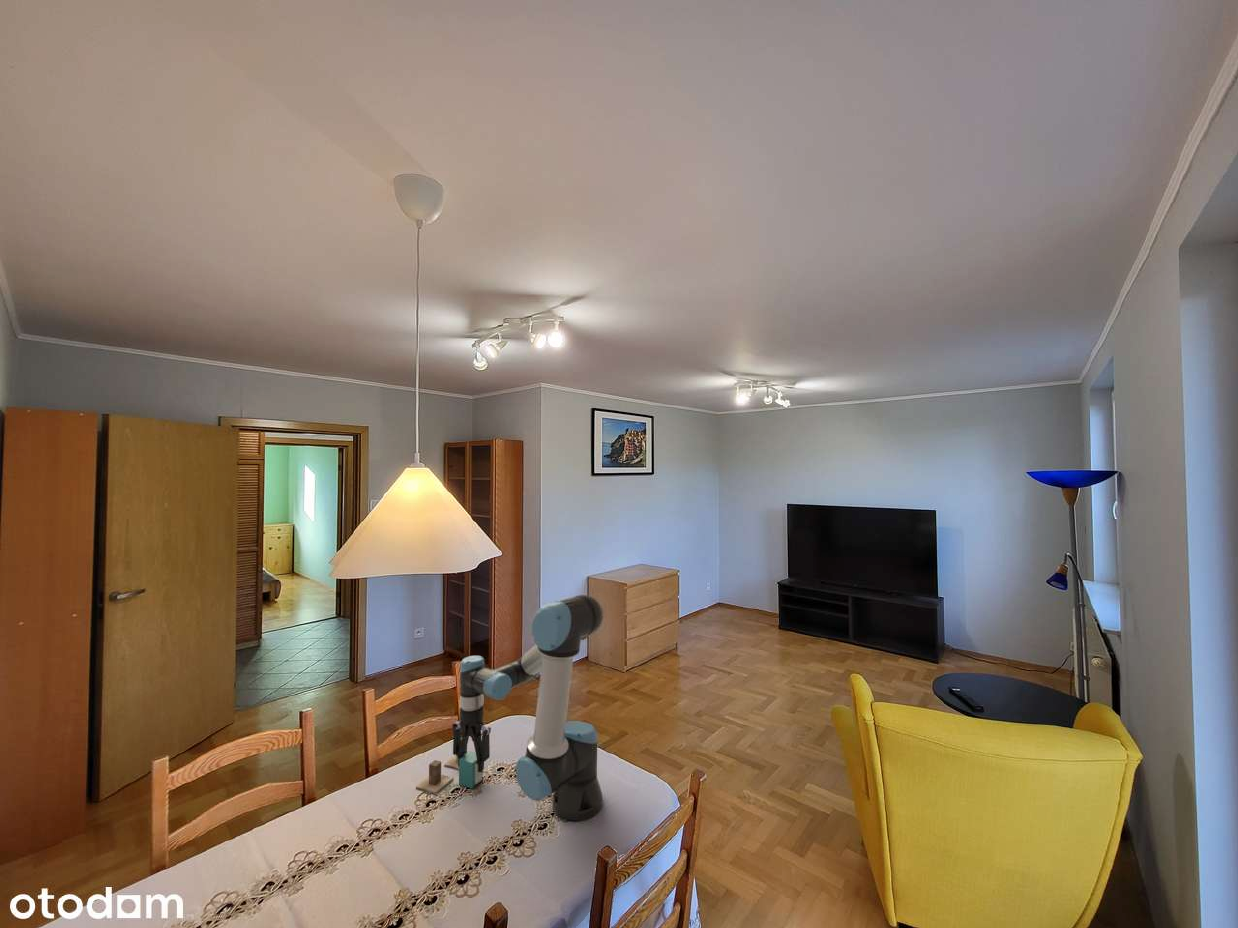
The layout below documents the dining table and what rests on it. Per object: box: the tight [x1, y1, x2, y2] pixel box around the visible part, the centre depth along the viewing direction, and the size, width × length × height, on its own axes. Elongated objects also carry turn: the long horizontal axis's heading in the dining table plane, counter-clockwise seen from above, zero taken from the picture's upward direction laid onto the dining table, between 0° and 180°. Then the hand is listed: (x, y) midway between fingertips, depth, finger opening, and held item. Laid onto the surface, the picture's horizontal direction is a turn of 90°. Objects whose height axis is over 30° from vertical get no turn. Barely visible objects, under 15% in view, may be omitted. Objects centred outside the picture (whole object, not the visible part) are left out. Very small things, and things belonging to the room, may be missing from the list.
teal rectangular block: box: [458, 751, 481, 789], centre depth 155 cm, size 5×5×8 cm
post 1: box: [415, 759, 454, 795], centre depth 154 cm, size 8×8×7 cm
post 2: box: [443, 747, 468, 771], centre depth 166 cm, size 8×8×7 cm
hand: (470, 779), depth 155 cm, fingers closed on teal rectangular block, 5 cm apart
